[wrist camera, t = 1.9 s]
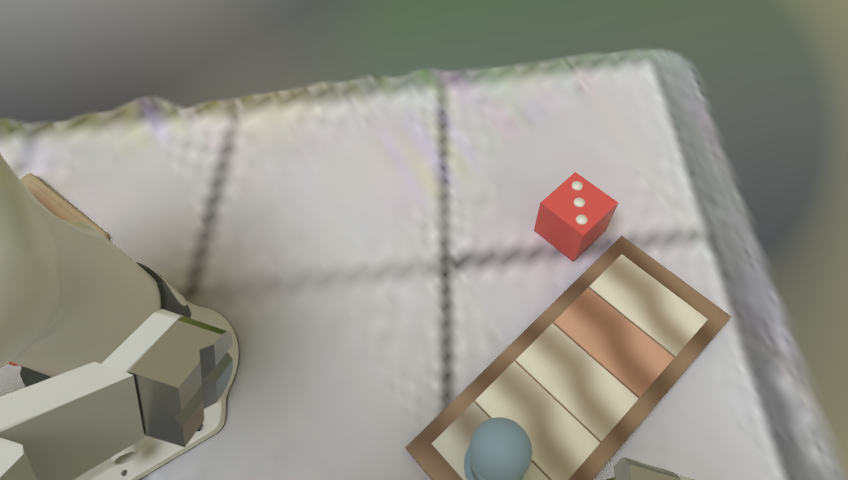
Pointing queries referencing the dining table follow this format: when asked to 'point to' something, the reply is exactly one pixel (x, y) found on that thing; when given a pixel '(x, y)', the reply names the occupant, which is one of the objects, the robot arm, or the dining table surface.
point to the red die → (574, 216)
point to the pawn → (498, 451)
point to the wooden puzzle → (56, 202)
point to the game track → (582, 370)
